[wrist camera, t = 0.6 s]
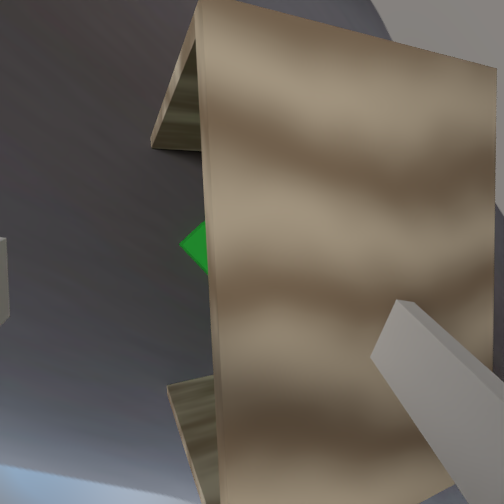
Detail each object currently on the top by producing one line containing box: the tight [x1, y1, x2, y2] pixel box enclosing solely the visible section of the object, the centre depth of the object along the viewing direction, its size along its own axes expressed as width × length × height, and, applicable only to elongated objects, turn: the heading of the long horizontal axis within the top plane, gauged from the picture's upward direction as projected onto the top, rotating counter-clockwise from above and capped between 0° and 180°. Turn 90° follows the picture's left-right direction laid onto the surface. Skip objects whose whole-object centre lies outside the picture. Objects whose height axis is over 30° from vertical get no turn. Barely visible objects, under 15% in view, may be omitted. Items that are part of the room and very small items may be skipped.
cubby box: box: [151, 0, 497, 504], centre depth 25 cm, size 25×18×19 cm
